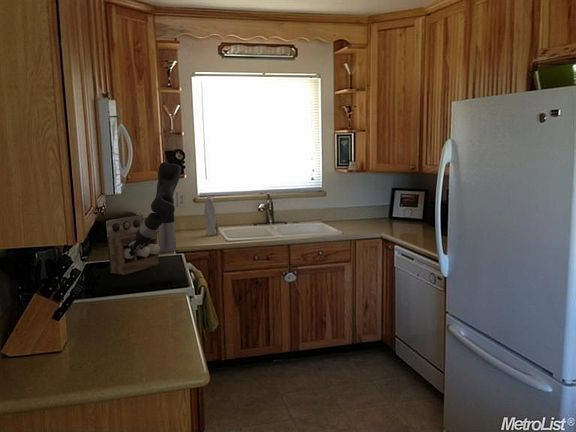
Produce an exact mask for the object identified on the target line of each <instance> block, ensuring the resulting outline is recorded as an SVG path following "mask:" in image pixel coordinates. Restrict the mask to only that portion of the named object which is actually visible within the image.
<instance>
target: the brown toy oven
mask: <svg viewBox="0 0 576 432" xmlns="http://www.w3.org/2000/svg"><path fill="white" fill-rule="evenodd" d="M143 222H144V214H138V215H132V216H126V217H120V218H115V219H109V220H106V221H105V223H106V224H105V225H106V236H107V250H108V261H109V273H110V274H116V275H122V276H125V275H129V274H132V273H135V272H138V271H141V270H145V269H146V270H147V269H149V268H152V266H153V267H155V266H158V265H159V263H160V262H159V253H158V254H149V256H147V257H143V256H136V253H135V255H134V256H133V258H131V259H127V258H124V248H129V246H128V243H129V242H130V243H132V242H133V240H134V239H135V238H136V232H137V231H138V229H139V228H140V226H141V225H142V223H143ZM149 244H157V245H158V235H157V231H156V233H155V235H154V236H153V237H152V239H151V240H150V243H149ZM145 247H146V246H145ZM129 249H130V248H129Z"/></svg>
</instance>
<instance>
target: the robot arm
mask: <svg viewBox="0 0 576 432" xmlns="http://www.w3.org/2000/svg"><path fill="white" fill-rule="evenodd" d="M181 174H182V167H181V166H180V165H179V164H176V163H173V162H172V163H170V162H168V161H167V162H165V161H162V162H161V163H160V164H159V166H158V169H157V184H156V194H155V197H154V199H153V201H152V202H151V203H150V210H151V211H152V212H151V213H149V214H148V215H147V216H146V219H145V220H143V223H142V225H141V226H140V228H139V229H138V231H137V232H136V238H135V239H134V240H133V242H132V243H130V242H129V243H128V246H129V248H130V250H131V251H130V252H129V254H130V255H131V256H134V255H135V253H136V252H137V251H138V250H139V249H140V250H141V249H142V248H144V247H145V246H146V245H148V244H149V243H150V240H151V239H152V237H153V236H154V235H155V233H156V232H157V231H158V232H159V234H158V235H157V241H158V245H159V247H160V251H159V252H161V253H173V252H176V251H177V241H176V240H177V238H176V226H175V225H176V224H175V210H176V207H175V199H174V193H175V190H176V189H177V186H178V183H179V181H180V177H181Z"/></svg>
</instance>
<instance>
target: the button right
mask: <svg viewBox="0 0 576 432" xmlns="http://www.w3.org/2000/svg"><path fill="white" fill-rule="evenodd" d="M146 247H149V249H150V254H158V255H159V252H161V251H160V247H159V244H158V243H157V244H148V245H146Z"/></svg>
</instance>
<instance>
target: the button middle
mask: <svg viewBox="0 0 576 432" xmlns="http://www.w3.org/2000/svg"><path fill="white" fill-rule="evenodd" d="M149 254H150V249H149V247H144V248H142V249H141V250H140V249H139V250H138V251H137V252H136V256H143V257H147V256H149Z"/></svg>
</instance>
